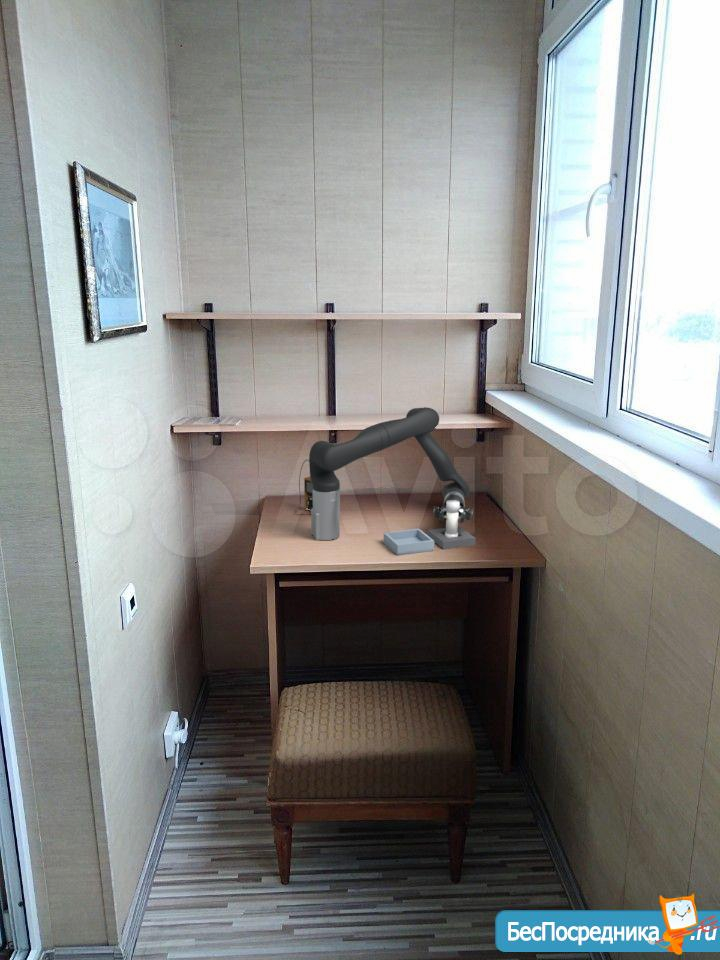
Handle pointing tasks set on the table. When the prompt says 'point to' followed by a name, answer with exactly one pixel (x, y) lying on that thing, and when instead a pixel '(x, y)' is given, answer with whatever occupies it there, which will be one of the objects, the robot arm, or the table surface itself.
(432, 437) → the robot arm
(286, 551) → the table surface
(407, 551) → the parts tray
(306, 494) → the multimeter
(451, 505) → the fuse
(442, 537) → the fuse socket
